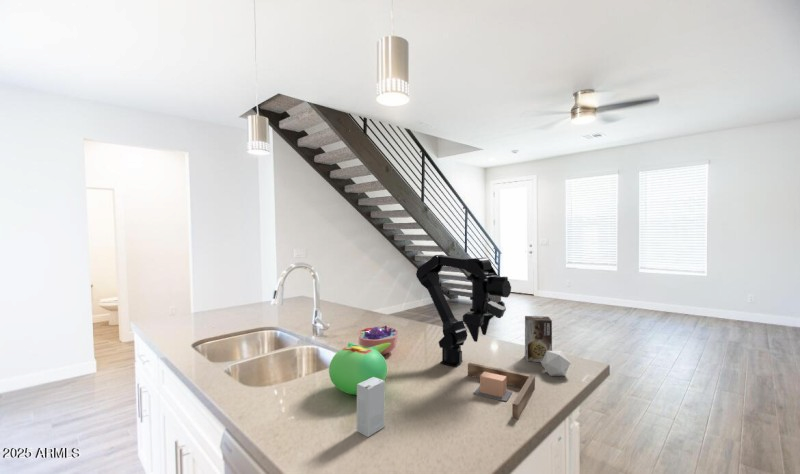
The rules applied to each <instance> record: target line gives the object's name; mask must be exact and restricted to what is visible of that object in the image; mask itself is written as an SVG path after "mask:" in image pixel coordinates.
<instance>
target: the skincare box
mask: <svg viewBox="0 0 800 474" xmlns="http://www.w3.org/2000/svg"><path fill="white" fill-rule="evenodd" d="M385 384H386V381H384V380H381V379H378V378H375V377H372V378H370V379H368V380H366V381H363V382H361V383H359V384H357V395H356V431H357V432H358V433H360V434H361V435H363V436H365V437H367V438H368V437H370V436H372V435H374V434H376V432H378V431H380V430H381V429H383V428H385V426H386V425H385V420H386V419H385V418H386V416H385V411H386V409H385V408H386V407H385V400H386V399H385V395H386V394H385V393H386V392H385V391H386V390H385V389H386V385H385Z"/></svg>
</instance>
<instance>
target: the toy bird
mask: <svg viewBox="0 0 800 474" xmlns="http://www.w3.org/2000/svg"><path fill="white" fill-rule="evenodd" d="M390 345H391V343H384V344H380V345H376V346H373V347H367V346H359V344H358V345H357V344H356V343H354V342H351V341H349V342H348V343H347V346H346V347H344V348H342V349H340V350H338V351H337V352H336V353H335V354H334V356H333V357H332V359H331V360H330V363H329V366H328V374H329V378H330V381H331V382H332V384H333V385H334V386H335V387H336V388H337V389H338V390H340V391H341V392H343V393H346V394H349V395H354V396H355V395H356V396H357V384H359V383H361V382H363V381H366V380H368V379H370V378H372V377H375V378H378V379H381V380H384V381H385V380H386V377H387V375H388V365H387V361H386V358H385V357H384V356H383V355H381V354H380V353H381V352H382V351H383V350H385V349H386V348H387V347H389V346H390ZM385 382H386V381H385Z"/></svg>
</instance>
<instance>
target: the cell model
mask: <svg viewBox="0 0 800 474" xmlns="http://www.w3.org/2000/svg"><path fill="white" fill-rule="evenodd" d="M357 335H358V346H367V347H373V346H376V345H380V344H384V343H391V345H390V346H389V347H387V348H386V349H385V350H383V351H382V352H381V353H380V354H381V355H382V356H383V355H385V354H388V353H390V352H392V351H393V350H395V348H397V345H398V339H399V330H397V329H396V328H394V327H390V326H387V325H382V326H373V327H367V328H362V329H359V330H358V331H357Z"/></svg>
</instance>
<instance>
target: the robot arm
mask: <svg viewBox="0 0 800 474" xmlns="http://www.w3.org/2000/svg"><path fill="white" fill-rule="evenodd" d="M443 267H448V268H455V269H460V270H463V271H465V272H467V273H469V276H467V277H466V280H467V281H471V296H469V300H471V307H470V308H469V311H467V312H466V313H464V314H463V315H462V319H461V320H458V319H456V317H455V316H454V313H453V310H452V309H451V307H450V305H449V303H448V301H447V298H446V297H445V294H444V292H443V290H442V288H441V286H440V275H439V273H440V272H441V271H442V269H443ZM415 275H416V278H417V280H418V281H419V283H420V284H421V285H422V286H423V287H424V288H425V289H426V290H427V291H428V293H429V296H430V298H431V299H432V303H433V305H434V307H435V309H436V311H437V313H438V315H439V317H440V320H441V323H442V334H443V337H442V338H441V339H440V340H439V341H438V346H439V348H440V349H441V351H442V352H441V353H442V354H441V356H442V357H441V361H440V362H439V363H440V364H442V365H447V366H451V367H458V366H460V365H461V364H462V362H463V351H462V346H464V343H465V341H466V340H467V337H468V332H467V331H469V333H470V335H471V336H470V337H471V338H472V340H473V342H474V343H477V342H478V341H479V340H478V339H479V332H480V331H481V333H482V336H483V335H484V336H487V332H488V328H489V324H490V321H491V319H493V318H494V317H496V318H498V319H501V318H502V317H504V314H505V312H506V310H507V308H506V307H507V306H506V305H505V302H504V301H503V300H499V301H498V302H497V301H495V302H494V301H492V297H500V298H508V297H510V295H511V292H512V285H511V283H510V281H509V279H508V278H509V277H508V276H499V275H498V273H497V271H496V269H494V267H493V265H492V262H491V260H490V258H488V257H476V258H475V257H474V258H465V257H458V256H457V257H456V256H452V255H451V256H450V255H444V254H435V255H433V256H432V257H431V258H430V259H429V260H427V261H426V262H424V263H423V264H422V265H421V266H419V267H418V268H417V270H416V273H415ZM489 295H490V296H489ZM491 296H492V297H491ZM464 324H465V325H466V326H465V325H464Z"/></svg>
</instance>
